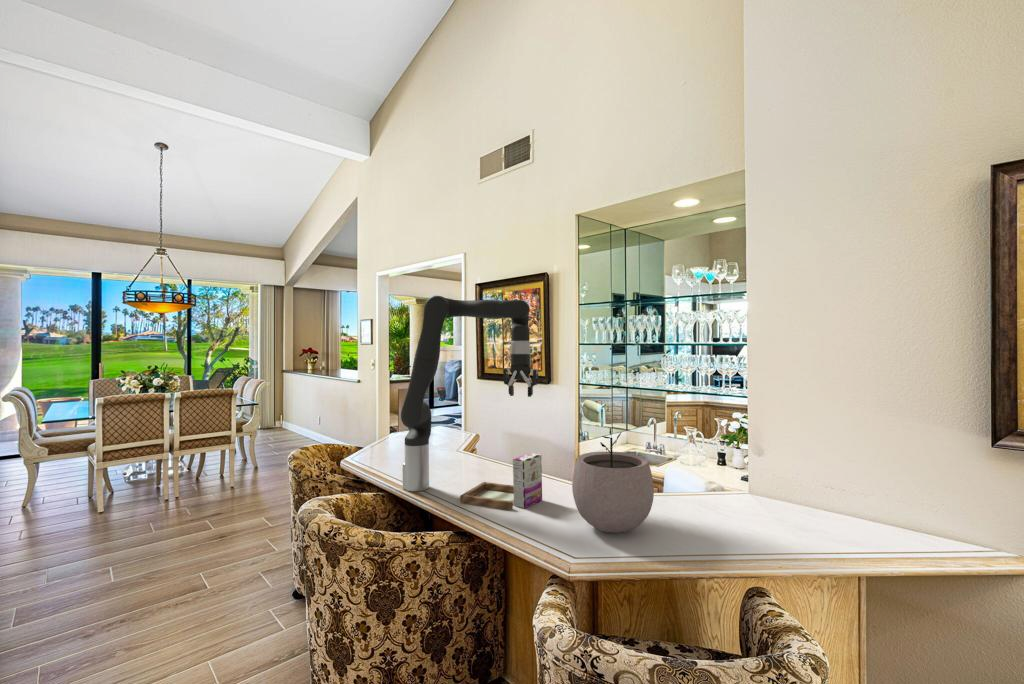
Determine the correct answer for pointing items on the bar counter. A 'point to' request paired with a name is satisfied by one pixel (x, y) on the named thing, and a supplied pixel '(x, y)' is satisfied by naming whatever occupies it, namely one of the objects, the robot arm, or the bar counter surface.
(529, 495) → the candy bar box
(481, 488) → the keeper frame
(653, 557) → the bar counter surface
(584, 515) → the plant pot
